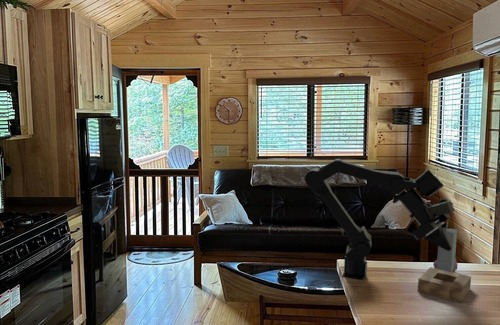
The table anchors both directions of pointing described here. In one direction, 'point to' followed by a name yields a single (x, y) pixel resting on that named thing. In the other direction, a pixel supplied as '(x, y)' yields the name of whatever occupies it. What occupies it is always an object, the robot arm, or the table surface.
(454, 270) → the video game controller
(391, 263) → the table surface
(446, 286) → the brown square wooden frame
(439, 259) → the grey rectangular block
